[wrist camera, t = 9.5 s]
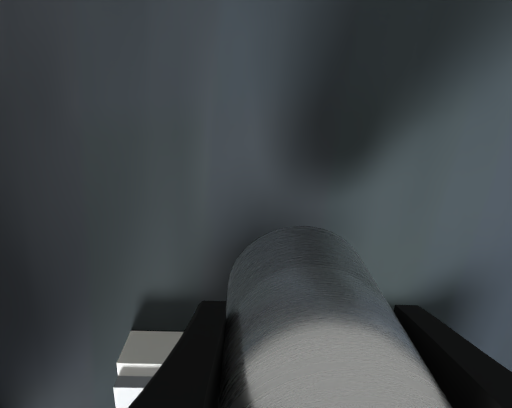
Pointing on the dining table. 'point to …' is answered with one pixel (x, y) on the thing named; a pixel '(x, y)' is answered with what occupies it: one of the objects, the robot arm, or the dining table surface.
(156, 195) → the dining table surface
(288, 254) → the cylinder
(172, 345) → the grey boxy piece
